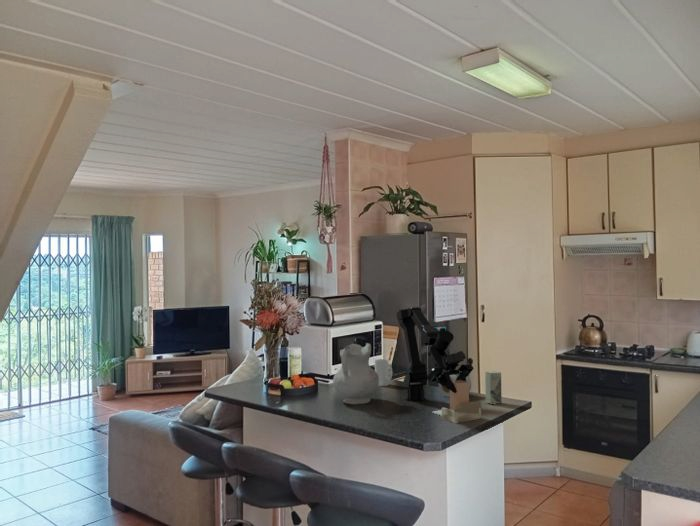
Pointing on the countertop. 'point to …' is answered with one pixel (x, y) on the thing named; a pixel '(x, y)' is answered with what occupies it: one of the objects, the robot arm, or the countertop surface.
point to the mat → (438, 412)
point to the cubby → (463, 412)
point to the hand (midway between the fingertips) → (461, 391)
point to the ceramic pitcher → (356, 375)
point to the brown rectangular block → (459, 393)
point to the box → (493, 387)
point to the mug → (383, 371)
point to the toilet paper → (453, 378)
